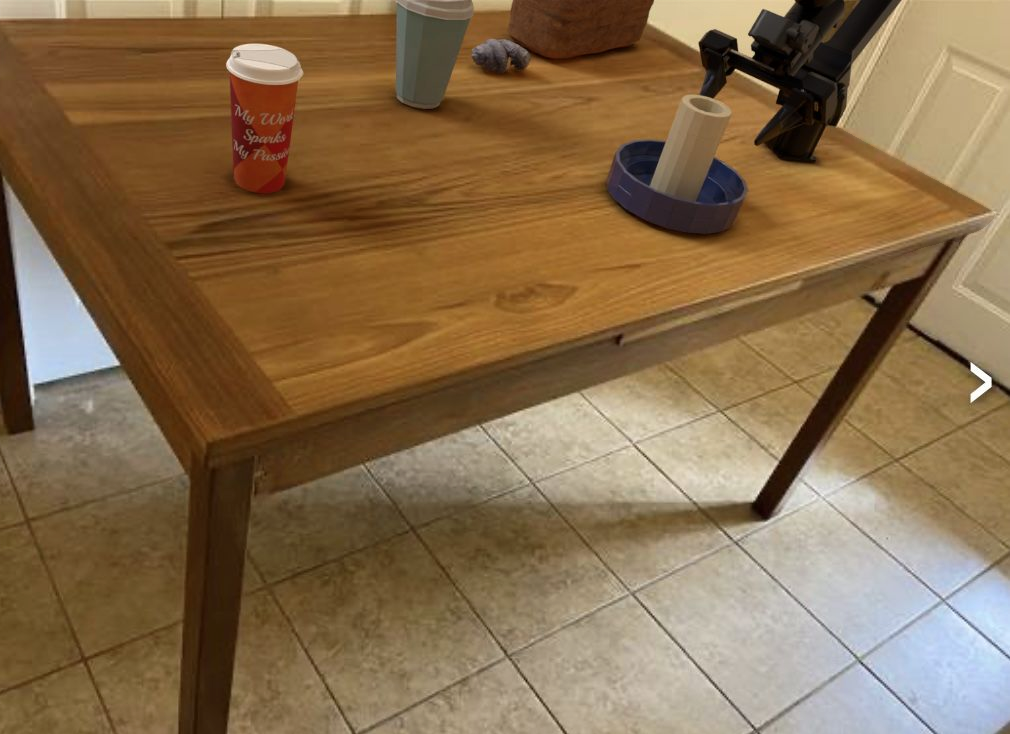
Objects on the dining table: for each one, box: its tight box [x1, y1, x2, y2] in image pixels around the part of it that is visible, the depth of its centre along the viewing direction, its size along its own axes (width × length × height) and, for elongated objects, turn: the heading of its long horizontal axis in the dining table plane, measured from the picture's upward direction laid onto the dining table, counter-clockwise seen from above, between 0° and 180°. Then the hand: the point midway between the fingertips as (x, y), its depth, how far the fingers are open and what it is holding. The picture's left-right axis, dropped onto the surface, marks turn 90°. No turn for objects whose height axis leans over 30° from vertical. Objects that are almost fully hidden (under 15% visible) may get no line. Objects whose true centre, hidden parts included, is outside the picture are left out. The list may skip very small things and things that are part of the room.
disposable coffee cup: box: [394, 0, 475, 110], centre depth 119 cm, size 11×11×15 cm
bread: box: [506, 0, 655, 60], centre depth 150 cm, size 14×28×12 cm, turn 135°
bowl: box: [606, 138, 749, 235], centre depth 112 cm, size 17×17×4 cm
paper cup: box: [225, 43, 304, 194], centre depth 94 cm, size 8×8×14 cm
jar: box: [650, 94, 733, 202], centre depth 109 cm, size 6×6×12 cm
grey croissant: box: [470, 38, 532, 75], centre depth 136 cm, size 5×5×10 cm
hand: (724, 128), depth 113 cm, fingers open, 9 cm apart
